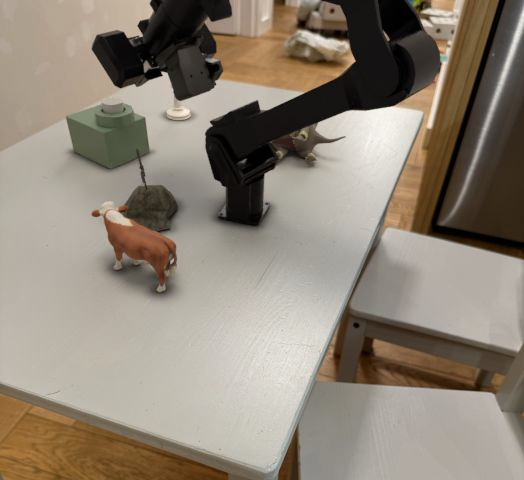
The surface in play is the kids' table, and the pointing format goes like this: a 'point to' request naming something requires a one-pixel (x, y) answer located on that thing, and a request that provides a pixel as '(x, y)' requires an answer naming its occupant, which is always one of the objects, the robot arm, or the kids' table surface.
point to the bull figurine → (138, 242)
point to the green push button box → (108, 135)
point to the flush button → (112, 105)
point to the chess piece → (178, 111)
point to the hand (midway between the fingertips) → (136, 83)
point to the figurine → (301, 142)
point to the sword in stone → (150, 204)
